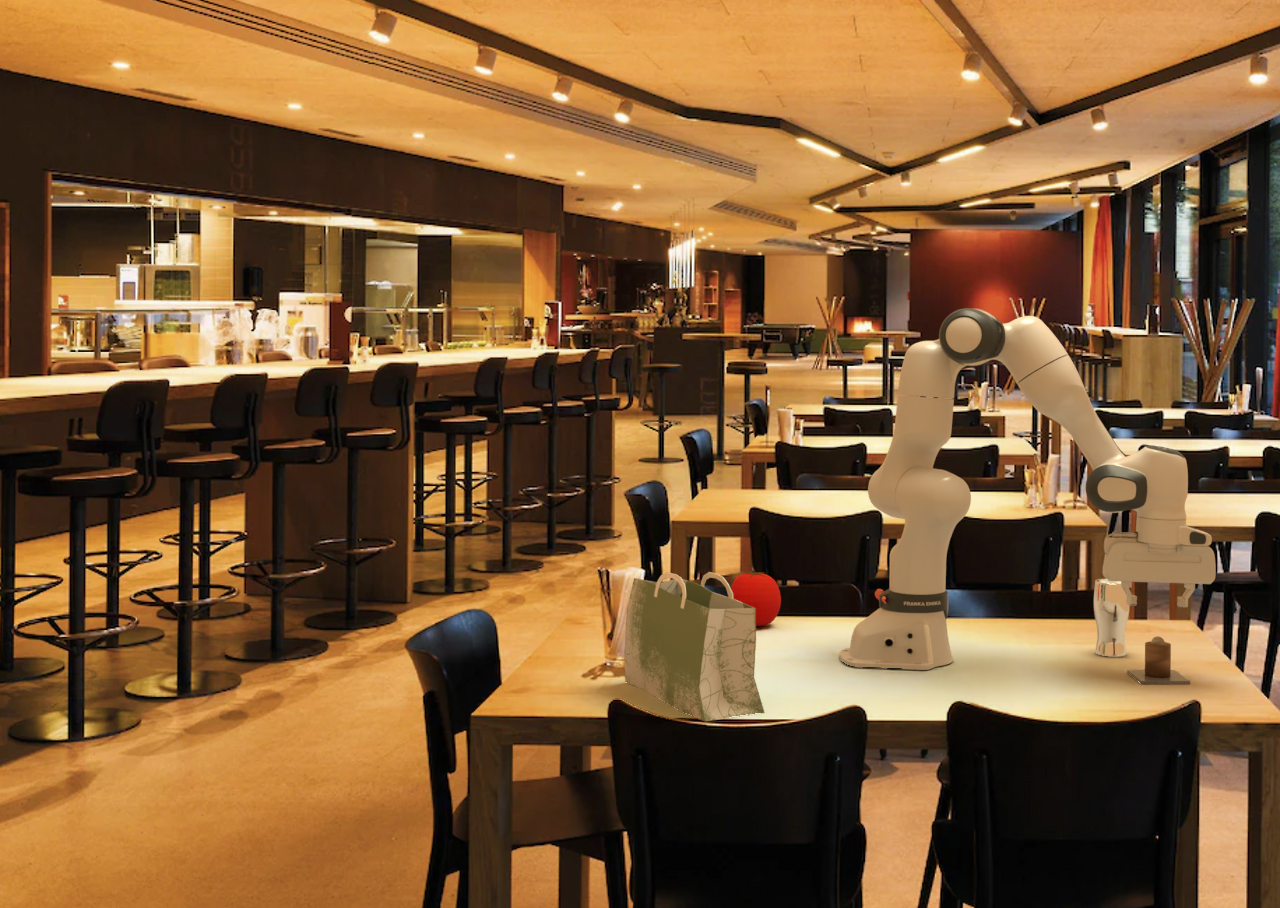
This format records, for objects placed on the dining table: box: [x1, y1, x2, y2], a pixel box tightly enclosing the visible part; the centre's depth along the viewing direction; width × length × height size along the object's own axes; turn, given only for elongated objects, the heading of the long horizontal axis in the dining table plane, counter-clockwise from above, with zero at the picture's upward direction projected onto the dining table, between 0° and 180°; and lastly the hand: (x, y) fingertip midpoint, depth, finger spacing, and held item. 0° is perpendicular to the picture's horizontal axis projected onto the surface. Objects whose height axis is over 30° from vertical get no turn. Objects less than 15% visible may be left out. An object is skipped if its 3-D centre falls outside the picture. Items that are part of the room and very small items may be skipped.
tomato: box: [730, 569, 782, 627], centre depth 337 cm, size 12×12×13 cm
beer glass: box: [1093, 578, 1131, 658], centre depth 306 cm, size 7×7×15 cm
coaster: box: [1126, 669, 1191, 685], centre depth 286 cm, size 9×9×1 cm
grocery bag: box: [623, 571, 765, 722], centre depth 274 cm, size 32×14×23 cm, turn 26°
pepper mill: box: [1144, 636, 1172, 678], centre depth 286 cm, size 5×5×7 cm
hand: (1156, 605), depth 284 cm, fingers open, 8 cm apart
